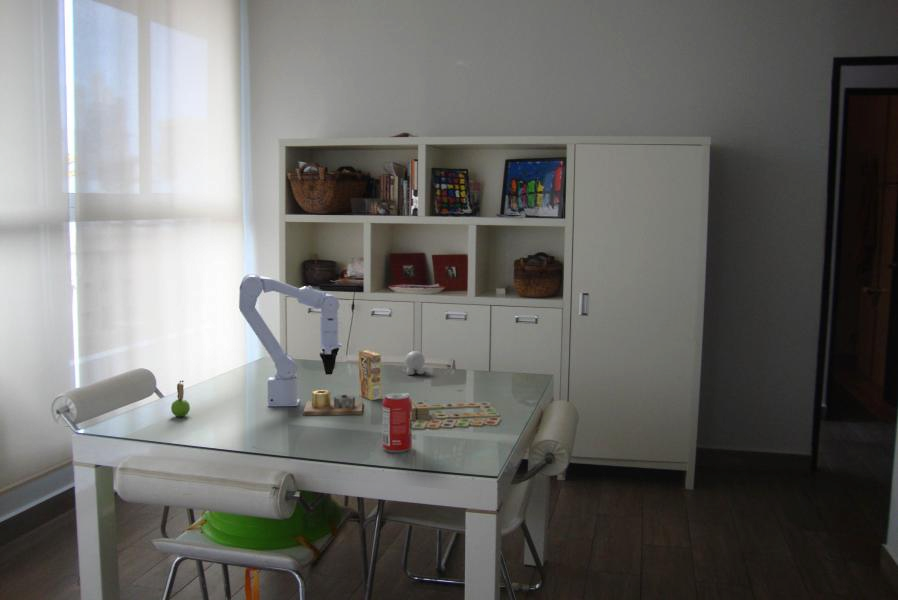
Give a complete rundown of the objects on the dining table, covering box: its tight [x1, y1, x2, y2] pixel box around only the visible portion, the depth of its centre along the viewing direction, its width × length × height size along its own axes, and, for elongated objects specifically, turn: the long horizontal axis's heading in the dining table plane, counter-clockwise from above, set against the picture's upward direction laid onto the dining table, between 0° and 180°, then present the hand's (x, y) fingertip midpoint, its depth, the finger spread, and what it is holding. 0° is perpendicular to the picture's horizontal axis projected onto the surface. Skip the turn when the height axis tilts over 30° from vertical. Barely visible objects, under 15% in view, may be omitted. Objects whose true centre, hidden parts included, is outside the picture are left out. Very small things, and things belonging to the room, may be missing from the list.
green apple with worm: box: [170, 380, 191, 418], centre depth 254 cm, size 5×6×12 cm
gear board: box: [302, 394, 364, 416], centre depth 264 cm, size 18×13×5 cm
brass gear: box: [311, 389, 332, 408], centre depth 264 cm, size 6×6×4 cm
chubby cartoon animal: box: [404, 350, 426, 376], centre depth 320 cm, size 8×12×9 cm, turn 4°
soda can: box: [381, 392, 413, 454], centre depth 222 cm, size 8×8×15 cm
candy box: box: [358, 350, 382, 401], centre depth 280 cm, size 9×4×15 cm, turn 33°
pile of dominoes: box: [412, 401, 502, 431], centre depth 257 cm, size 35×27×6 cm
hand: (329, 371), depth 274 cm, fingers open, 7 cm apart
